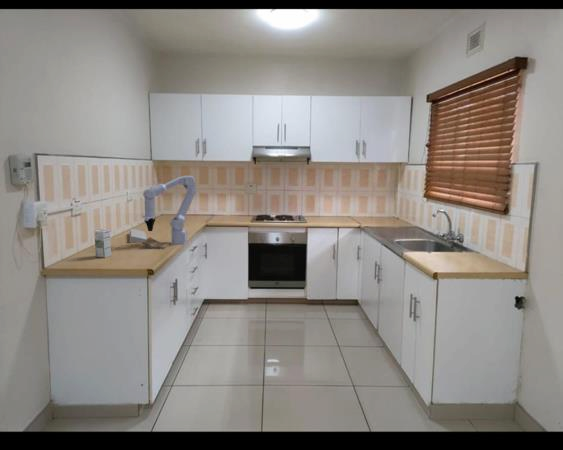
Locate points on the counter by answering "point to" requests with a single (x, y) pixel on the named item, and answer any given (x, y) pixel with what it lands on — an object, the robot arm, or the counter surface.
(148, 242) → the board
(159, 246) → the laid plank
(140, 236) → the decorative molding
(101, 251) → the syrup box
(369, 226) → the counter surface
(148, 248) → the plate
